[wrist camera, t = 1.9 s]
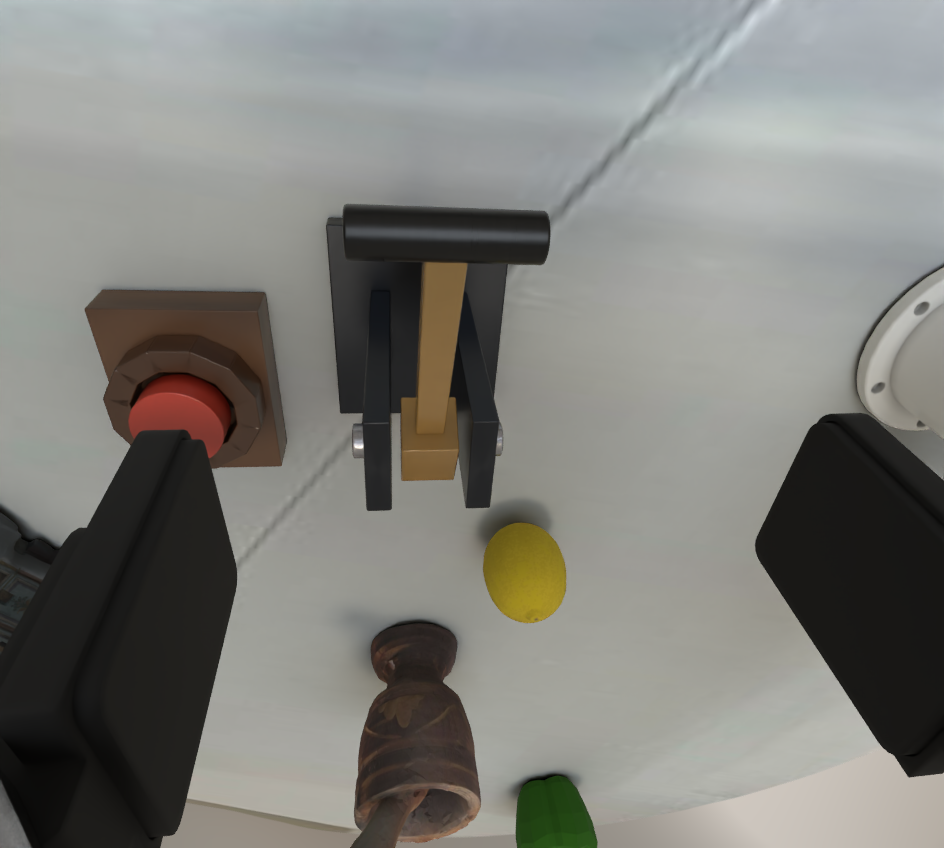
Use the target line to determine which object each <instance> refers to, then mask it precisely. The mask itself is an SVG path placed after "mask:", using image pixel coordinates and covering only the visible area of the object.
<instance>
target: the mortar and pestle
mask: <svg viewBox="0 0 944 848" xmlns="http://www.w3.org/2000/svg"><path fill="white" fill-rule="evenodd" d="M456 652H457V640H456V638H455V636H454V635H453V634H452V633H451V632H450V631H448V630H446V629H444V628H441V627H439V626H437V625H433V624H425V623H417V624H408V625H402V626H398V627H393V628H389V629H387V630H385V631H383V632H381V633H380V634H379V636H377V637H376V638H375V639H374V640H373V642H372V645H371V661H372V665H373V668H374V670H375V672H376V674H377V676H378V678H379V679H380V680H382V681H384V682H385V683H387V684H388V686H387V689H386V690H384V691H383V692H381V693H380V694H379V695H378V696H377V697H376V698H375V700H374V701H373V703H372V705H371V707H370V709H369V713H368V717H367V720H366V722H365V725H364V729H363V733H362V736H361V741H360V748H359V756H358V778H357V782H356V791H355V807H354V817H355V824H356V826H357V827H358V828H359V829H360V830H361V831H362V833H361V834H360V836H359V837H358V838H357V839H356V840H355V842H354V843H353V844H352V846H351V847H350V848H395V846H396V842H397V841H400V842H415V843H422V842H427V841H430V840H433V839H438V838H441V837H444V836H448V835H450V834H452V833H455V832H457V831H458V830H460V829H462V828H464V827H466V826H467V825H468V823H469V822H470V821H472V820H474V819H475V817H476V816H477V814H478V812H479V809H480V807H481V798H480V788H479V782H478V774H477V768H476V762H475V751H474V742H473V737H472V732H471V728H470V724H469V722H468V719H467V716H466V713H465V710H464V708H463V705H462V703H461V700H460V698H459V696H458V695H457V694H456V693H455V692H454V691H453V690H452V689H450V688H449V687H448V686H447V685H445V684H444V683H443V682H442V681H443V680H444V678H445V677H446V676H447V675H448V674H449V673H450V672H451V670H452V667H453V665H454V663H455V658H456Z"/></svg>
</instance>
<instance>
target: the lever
mask: <svg viewBox="0 0 944 848" xmlns="http://www.w3.org/2000/svg"><path fill="white" fill-rule="evenodd" d="M343 246H344V254H345V258H346V260H349V261H386V262H422V278H421V299H420V320H419V341H418V363H417V384H416V398H401V429H400V432H401V480H402V481H414V480H453V479H454V475H455V470H456V465H457V459H458V454H459V437H458V422H457V407H456V398H455V397H449V395H450V388H451V381H452V373H453V366H454V359H455V352H456V345H457V337H458V330H459V323H460V316H461V309H462V301H463V294H464V287H465V280H466V272H467V265H468V263H472V264H514V265H542V264H544V263H545V261H546V258H547V255H548V251H549V246H550V220H549V216H548V214H547V212H545V211H533V210H505V209H477V208H448V207H420V206H392V205H363V204H345V205H344V207H343Z"/></svg>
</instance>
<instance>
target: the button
mask: <svg viewBox="0 0 944 848" xmlns="http://www.w3.org/2000/svg"><path fill="white" fill-rule="evenodd" d="M128 422H129V429H130V432H131V434H132V436H133V438H134V439H135V437H136V436H137V435H138V433H139V432H141V431H143V430H179V429H184V430H187V431H188V433H189V434H190V436H191V439H201V440H203V442H204V443H205V446H206V449H207V453H208V457H209V458H211V457H212V456H214V455H215V454H216V453H217V452H218V451H219V450H220V448H221V447H222V444H223V442H224V439H225V436H226V434H227V431H228V428H229V425H230V422H231V410H230V406H229V404H228V402H227V400H226V398H225V397H224V396H223V394H222V393H221V392H220V391H219V390H218V389H217V388H215V387H214V386H213V385H211V384H210V383H208V382H206V381H204V380H202V379H200V378H197V377H194V376H190V375H184V374H171V375H165V376H162V377H159V378H157V379H154V380H153V381H151V382H150V383H149V384H148V385H147V386H146V387H145V388H144V389H143V391H142V393H141V394H140V396H139V398H138V399H137V401H136V402H135V404H134V406H133V407H132V409H131V411H130V414H129V419H128Z"/></svg>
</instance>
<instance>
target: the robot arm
mask: <svg viewBox="0 0 944 848" xmlns="http://www.w3.org/2000/svg"><path fill="white" fill-rule="evenodd" d="M857 390H858V393H859V396H860V399H861V402H862V403H863V404H864V406H865V407H866V408H867V410H868V411H869V412H870V413H872V414H873V415H874V416H875V417H876V418H877V419H878V420H880V421H881V422H883V423H885V424H887V425H889V426H890V427H893V428H898V429H902V430H911V431H921V430H929V429H931V430H932V431H933V432H935V433H936V434H937V435H938V436H940V437H941V438H942V439H943V440H944V267H943V268H941V269H940V270H938V271H936V272H935V273H933V274H931V275H930V276H928V277H926V278H925V279H924V280H923V281H921V282H920V283H919V284H917V285H916V286H915V287H914V288H912V289H911V290H910V291H908V292H907V293H906V294H905V295H904V296H903V297H902V298H901V299H900V300H899V301H898V302H897V303H896V304H895V305H894V306H893V307H892V308H891V309H890V310H889V311H888V313H887V314H886V315H885V316H884V318H883V319H882V320H881V321H880V323H879V324H878V325H877V327H876V328H875V330H874V332H873V333H872V335H871V337H870V338H869V340H868V342H867V344H866V346H865V348H864V351H863V353H862V356H861V358H860V362H859V367H858V372H857ZM755 549H756V554H757V557H758V559H759V561H760V562H761V564H762V565H763V567H764V568H765V570H766V572H767V573H768V575H769V576H770V578H771V579H772V581H773V582H774V584H775V585H776V587H777V588H778V590H779V591H780V593H781V594H782V596H783V597H784V599H785V600H786V602H787V604H788V605H789V607H790V608H791V610H792V611H793V613H794V614H795V616H796V617H797V619H798V620H799V622H800V623H801V625H802V626H803V628H804V629H805V631H806V633H807V634H808V636H809V637H810V639H811V640H812V642H813V643H814V645H815V646H816V648H817V649H818V651H819V652H820V654H821V655H822V657H823V658H824V660H825V662H826V663H827V665H828V666H829V668H830V669H831V671H832V672H833V674H834V675H835V677H836V678H837V680H838V681H839V683H840V684H841V686H842V687H843V689H844V691H845V692H846V694H847V695H848V697H849V698H850V700H851V701H852V703H853V704H854V706H855V707H856V709H857V710H858V712H859V713H860V715H861V716H862V718H863V719H864V721H865V723H866V724H867V726H868V727H869V729H870V730H871V732H872V733H873V735H874V736H875V738H876V739H877V741H878V742H879V743H880V745H881V746H882V747H883V748H884V749H885V750H886V751H887V752H889V753H891V754H893V755H894V756H895V757H896V759H897V761H898V762H899V764H900V765H901V767H902V768H903V770H904V771H905V773H906V774H907V776H908V777H916V776H925V775H934V774H942V773H944V480H942V479H941V478H940V477H939V476H938V475H937V474H936V473H934V472H933V471H932V470H931V469H930V468H929V467H928V466H927V465H925V464H924V463H923V462H922V461H921V460H920V459H919V458H918V457H916V456H915V455H914V454H913V453H912V452H911V451H910V450H908V449H907V448H906V447H905V446H904V445H903V444H902V443H901V442H899V441H898V440H897V439H896V438H895V437H894V436H893V435H891V434H890V433H889V432H888V431H887V430H886V429H885V428H884V427H882V426H881V425H880V424H879V423H878V422H877V421H876V420H875V419H873V418H872V417H870V416H869V415H867V414H862V413H849V414H828V415H825V416H823V417H822V418H821V419H820V420H819V421H818V423H817V424H814V425H813V426H812V427H811V428H810V429H809V431H808V433H807V435H806V437H805V439H804V441H803V443H802V445H801V447H800V449H799V451H798V453H797V455H796V457H795V459H794V462H793V464H792V466H791V468H790V470H789V472H788V474H787V476H786V478H785V480H784V482H783V484H782V486H781V488H780V490H779V492H778V494H777V497H776V499H775V501H774V503H773V505H772V507H771V509H770V511H769V513H768V515H767V517H766V519H765V521H764V523H763V525H762V527H761V529H760V532H759V534H758V536H757V538H756V542H755ZM236 587H237V568H236V563H235V559H234V555H233V551H232V547H231V543H230V539H229V535H228V531H227V528H226V524H225V520H224V516H223V512H222V508H221V504H220V500H219V496H218V492H217V488H216V485H215V481H214V477H213V473H212V469H211V465H210V461H209V457H208V453H207V449H206V446H205V443H204V442H203V440H201V439H191V436H190V434H189V433H188V431H187V430H184V429H179V430H143V431H141V432H139V433H138V435H137V436H136V437H135V439H134V441H133V443H132V445H131V447H130V448H129V450H128V452H127V454H126V456H125V458H124V460H123V461H122V463H121V465H120V467H119V469H118V471H117V473H116V474H115V476H114V478H113V480H112V482H111V484H110V486H109V487H108V489H107V491H106V493H105V495H104V497H103V499H102V500H101V502H100V504H99V506H98V508H97V510H96V512H95V513H94V515H93V517H92V519H91V521H90V523H89V525H88V526H87V528H78V529H77V530H75V531H73V532H72V533H71V534H70V535H69V536H68V538H67V539H66V540H65V542H64V543H63V545H62V547H61V549H60V550H59V552H58V554H57V556H56V557H55V559H54V561H53V563H52V564H51V566H50V568H49V570H48V572H47V573H46V575H45V577H44V579H43V580H42V582H41V584H40V586H39V587H38V589H37V591H36V593H35V595H34V596H33V598H32V600H31V602H30V603H29V605H28V607H27V609H26V610H25V612H24V614H23V616H22V618H21V619H20V621H19V623H18V625H17V626H16V628H15V630H14V632H13V633H12V635H11V637H10V639H9V641H8V642H7V644H6V646H5V648H4V649H3V651H2V653H1V655H0V848H160V846H161V842H162V838H163V836H170V835H173V834H175V832H176V831H177V829H178V827H179V825H180V822H181V818H182V815H183V811H184V806H185V803H186V798H187V794H188V790H189V786H190V781H191V777H192V773H193V769H194V765H195V760H196V756H197V752H198V748H199V744H200V739H201V735H202V731H203V727H204V723H205V718H206V714H207V710H208V706H209V702H210V697H211V693H212V689H213V685H214V681H215V676H216V672H217V668H218V664H219V659H220V655H221V651H222V647H223V643H224V638H225V634H226V630H227V626H228V622H229V617H230V613H231V609H232V605H233V601H234V596H235V592H236Z"/></svg>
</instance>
